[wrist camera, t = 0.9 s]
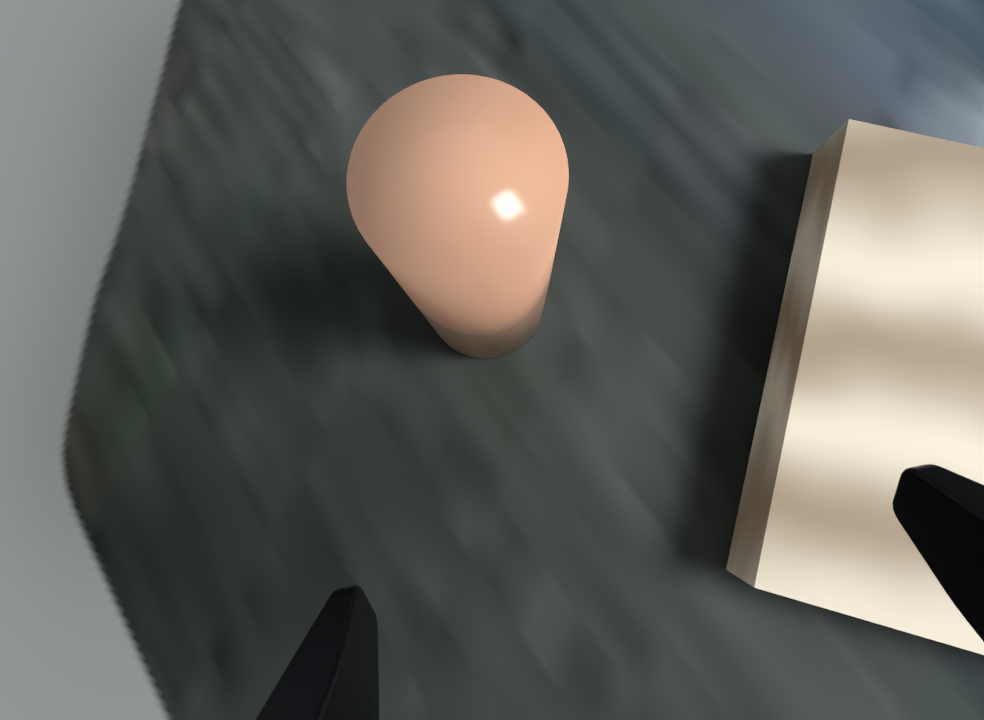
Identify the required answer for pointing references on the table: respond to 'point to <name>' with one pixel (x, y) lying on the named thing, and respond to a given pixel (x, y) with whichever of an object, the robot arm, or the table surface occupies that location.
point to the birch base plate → (870, 379)
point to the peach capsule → (464, 206)
